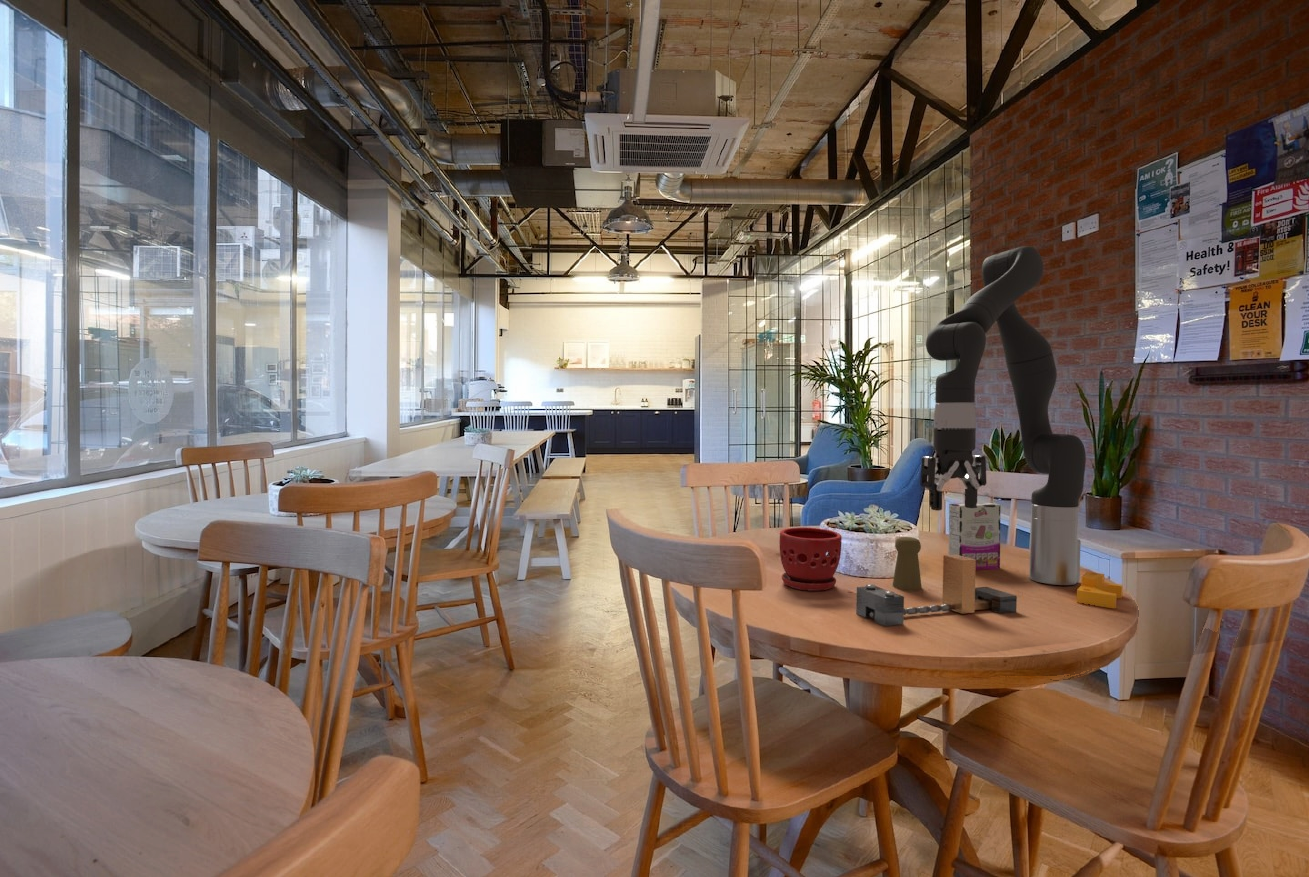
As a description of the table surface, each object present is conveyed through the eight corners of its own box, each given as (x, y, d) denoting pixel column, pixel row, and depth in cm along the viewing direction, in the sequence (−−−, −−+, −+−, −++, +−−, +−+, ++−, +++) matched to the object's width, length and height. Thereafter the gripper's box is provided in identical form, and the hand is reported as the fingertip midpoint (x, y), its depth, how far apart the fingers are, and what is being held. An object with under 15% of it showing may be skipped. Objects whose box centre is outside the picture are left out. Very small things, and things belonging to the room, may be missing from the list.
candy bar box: (986, 567, 171) (988, 502, 170) (1000, 571, 166) (1002, 504, 165) (946, 568, 168) (948, 502, 168) (959, 573, 163) (961, 505, 163)
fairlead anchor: (874, 611, 129) (874, 582, 129) (903, 624, 121) (904, 593, 121) (856, 613, 128) (856, 583, 128) (884, 626, 120) (885, 594, 120)
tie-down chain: (982, 602, 136) (984, 552, 135) (1003, 609, 131) (1004, 557, 131) (861, 614, 126) (862, 560, 126) (879, 622, 121) (880, 566, 121)
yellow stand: (1086, 571, 147) (1122, 576, 143) (1085, 591, 147) (1122, 597, 143) (1077, 581, 138) (1115, 586, 133) (1076, 602, 138) (1115, 608, 134)
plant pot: (766, 585, 149) (767, 530, 149) (802, 576, 158) (803, 525, 157) (817, 597, 139) (818, 539, 139) (852, 587, 148) (853, 532, 148)
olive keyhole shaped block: (917, 585, 151) (918, 535, 151) (925, 591, 145) (926, 540, 145) (889, 584, 152) (890, 534, 151) (896, 590, 146) (897, 539, 145)
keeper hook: (985, 601, 137) (986, 586, 137) (1016, 611, 130) (1016, 595, 130) (970, 603, 136) (970, 588, 136) (1000, 613, 129) (1000, 597, 129)
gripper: (967, 425, 139) (966, 505, 140) (911, 426, 134) (910, 508, 135) (997, 426, 132) (996, 509, 133) (940, 426, 127) (938, 513, 128)
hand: (953, 508), depth 134 cm, fingers open, 8 cm apart
